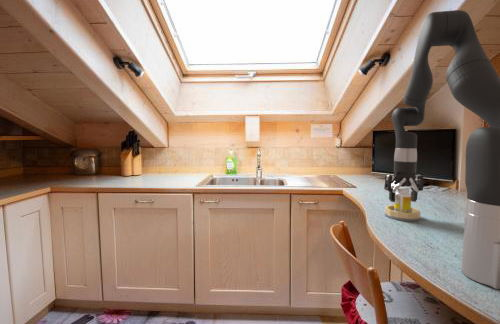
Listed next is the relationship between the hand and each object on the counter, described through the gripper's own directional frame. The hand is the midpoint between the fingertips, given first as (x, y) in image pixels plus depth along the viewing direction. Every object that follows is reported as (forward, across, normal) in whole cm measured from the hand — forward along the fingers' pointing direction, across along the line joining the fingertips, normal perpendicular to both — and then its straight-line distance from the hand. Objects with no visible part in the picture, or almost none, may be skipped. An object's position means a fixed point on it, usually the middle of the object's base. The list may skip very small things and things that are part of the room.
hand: (402, 201), depth 102 cm
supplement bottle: (+5, 0, 0) cm, 5 cm away
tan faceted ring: (+6, 0, 0) cm, 6 cm away
